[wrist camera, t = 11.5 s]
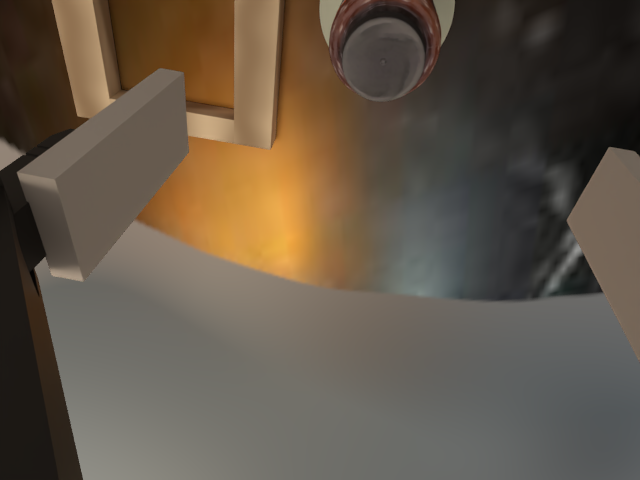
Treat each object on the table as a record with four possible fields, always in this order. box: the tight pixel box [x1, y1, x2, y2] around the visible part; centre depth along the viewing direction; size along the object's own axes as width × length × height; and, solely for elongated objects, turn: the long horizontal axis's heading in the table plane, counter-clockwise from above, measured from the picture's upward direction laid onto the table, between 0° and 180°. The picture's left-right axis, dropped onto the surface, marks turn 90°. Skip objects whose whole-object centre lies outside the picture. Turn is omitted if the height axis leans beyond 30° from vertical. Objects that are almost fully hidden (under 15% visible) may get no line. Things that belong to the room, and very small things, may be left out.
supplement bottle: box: [329, 0, 441, 102], centre depth 26 cm, size 6×6×11 cm
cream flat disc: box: [319, 0, 455, 46], centre depth 30 cm, size 9×9×1 cm
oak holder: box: [52, 0, 285, 150], centre depth 33 cm, size 16×14×2 cm
